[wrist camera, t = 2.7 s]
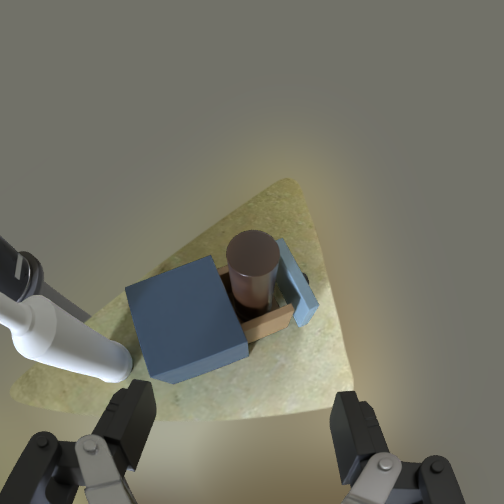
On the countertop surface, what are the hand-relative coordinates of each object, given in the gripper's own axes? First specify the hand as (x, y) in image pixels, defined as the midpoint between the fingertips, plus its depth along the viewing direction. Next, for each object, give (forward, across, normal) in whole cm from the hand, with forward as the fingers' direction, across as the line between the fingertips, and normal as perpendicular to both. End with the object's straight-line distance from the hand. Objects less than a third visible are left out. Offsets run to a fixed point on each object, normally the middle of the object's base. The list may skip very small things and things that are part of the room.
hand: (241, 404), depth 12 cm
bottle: (+17, +16, +13) cm, 27 cm away
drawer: (+23, -1, +6) cm, 24 cm away
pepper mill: (+22, 0, +6) cm, 22 cm away
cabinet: (+21, +6, +10) cm, 24 cm away
